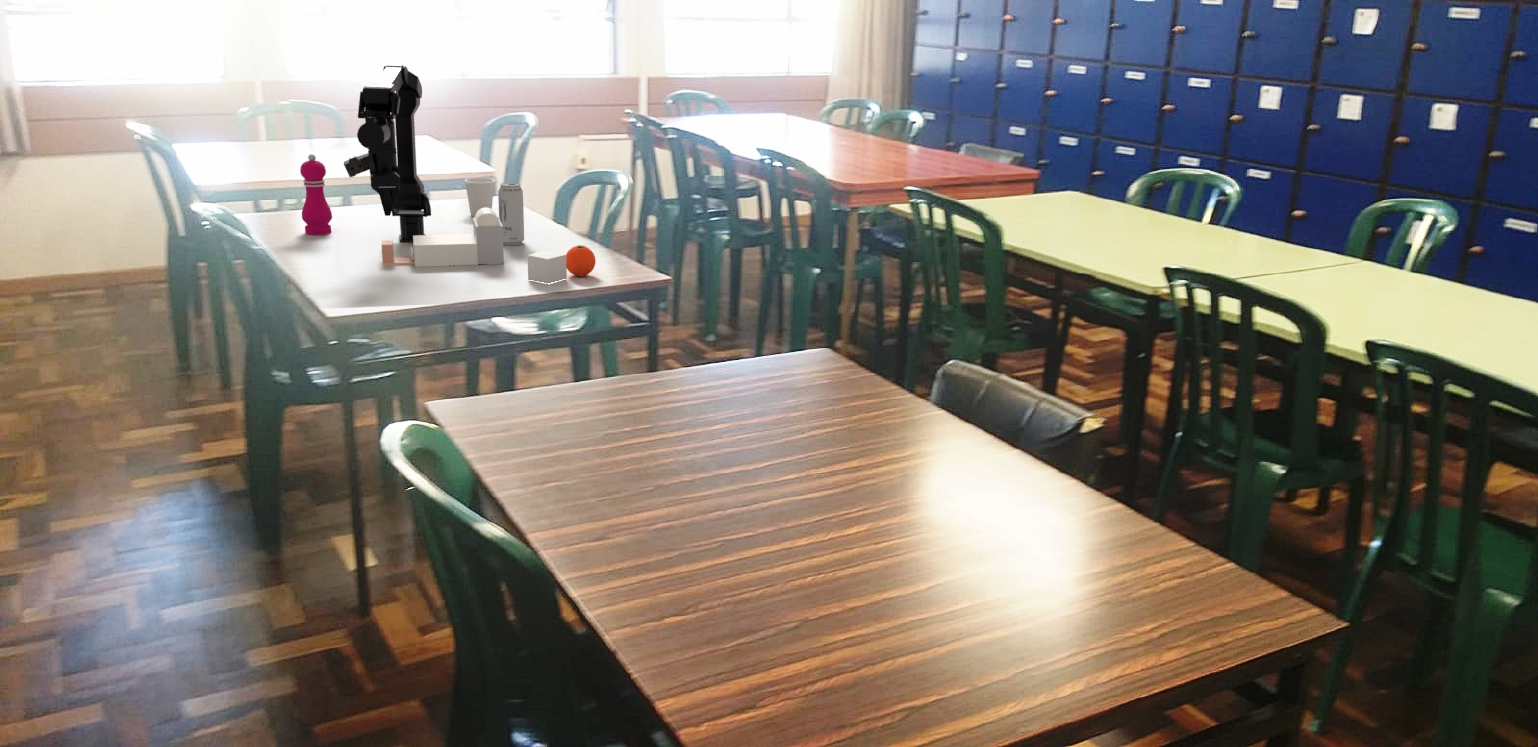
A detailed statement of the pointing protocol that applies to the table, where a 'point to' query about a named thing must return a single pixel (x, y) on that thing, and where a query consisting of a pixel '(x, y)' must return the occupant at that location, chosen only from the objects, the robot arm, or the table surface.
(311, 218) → the pepper mill
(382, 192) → the robot arm
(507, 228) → the energy drink can
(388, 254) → the l-shaped wooden bracket
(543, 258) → the grey cube
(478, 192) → the dixie cup
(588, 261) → the clementine
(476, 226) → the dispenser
